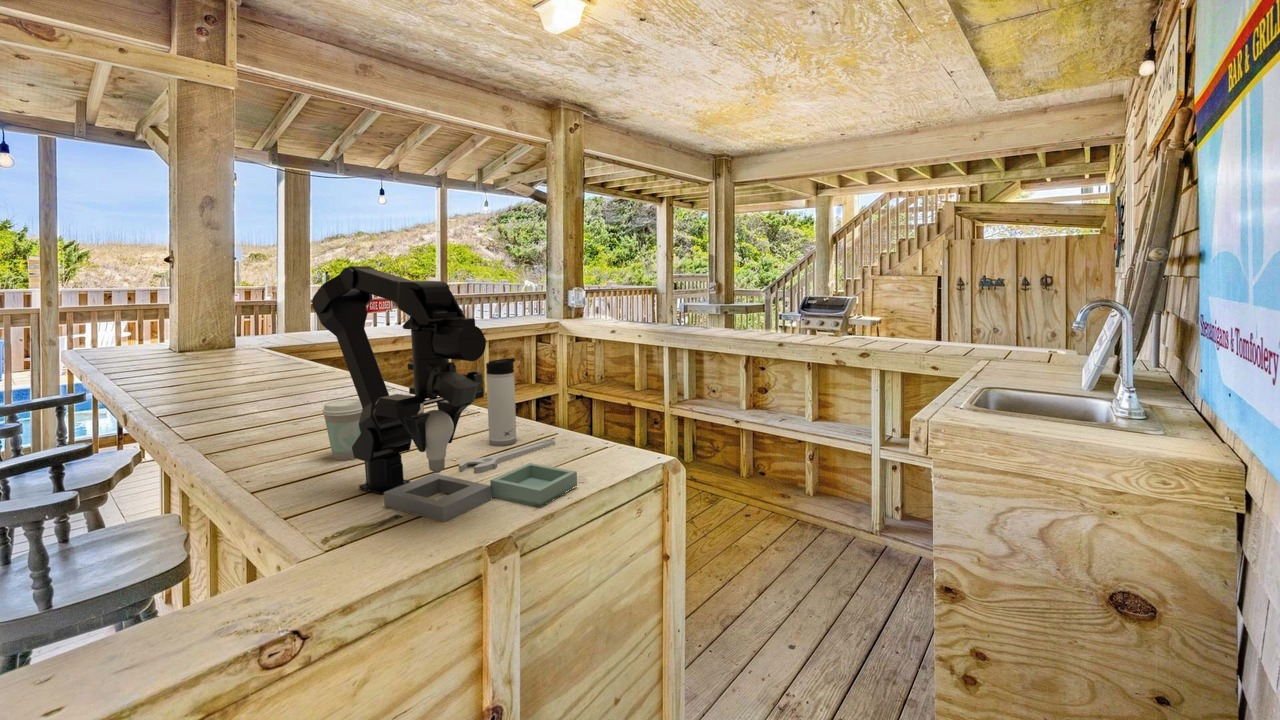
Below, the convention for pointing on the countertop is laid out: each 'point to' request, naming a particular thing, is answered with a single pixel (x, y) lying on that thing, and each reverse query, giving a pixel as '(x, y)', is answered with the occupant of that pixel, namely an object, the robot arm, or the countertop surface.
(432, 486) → the socket board
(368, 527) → the tongs
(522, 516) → the countertop surface
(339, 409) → the coffee cup
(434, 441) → the lightbulb
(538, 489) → the parts tray
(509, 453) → the adjustable wrench
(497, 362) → the travel mug
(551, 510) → the countertop surface
